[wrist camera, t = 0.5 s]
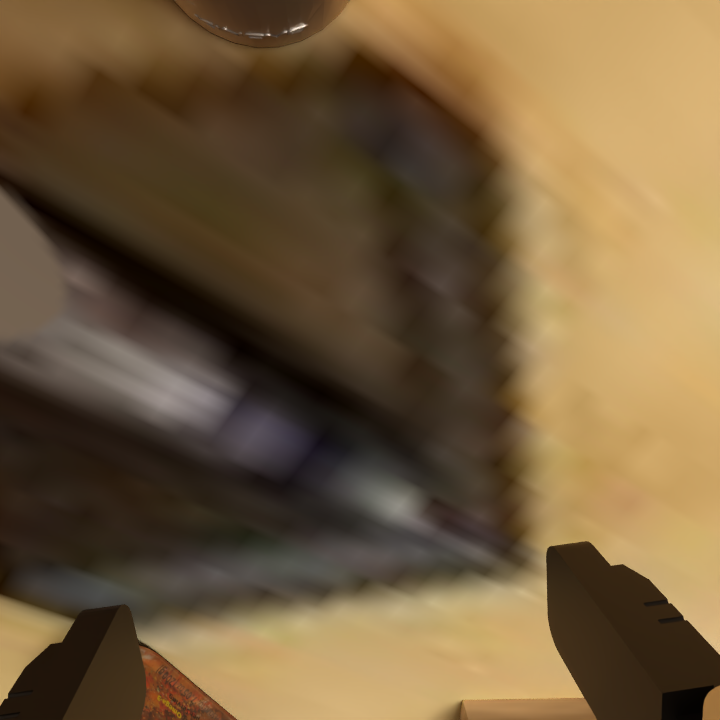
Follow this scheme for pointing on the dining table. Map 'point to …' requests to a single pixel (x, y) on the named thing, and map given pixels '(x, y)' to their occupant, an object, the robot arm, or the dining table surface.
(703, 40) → the dining table surface
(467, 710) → the oak bar
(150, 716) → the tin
